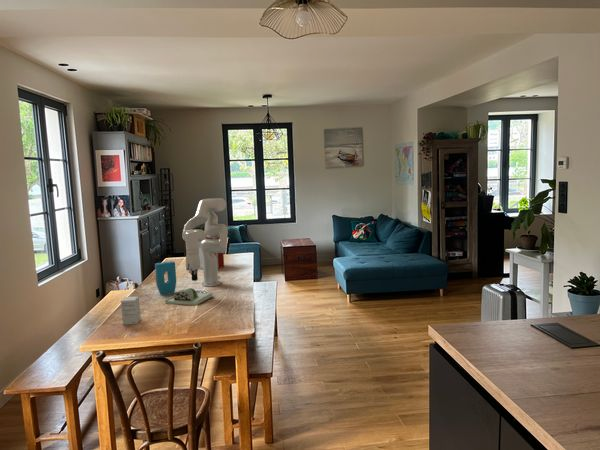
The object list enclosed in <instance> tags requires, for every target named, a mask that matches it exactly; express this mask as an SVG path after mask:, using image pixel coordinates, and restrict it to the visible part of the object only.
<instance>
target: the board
mask: <svg viewBox="0 0 600 450" xmlns="http://www.w3.org/2000/svg"><path fill="white" fill-rule="evenodd" d="M197 294H198V297H197V298H195V299H194V300H193V301H189V300H174V297H175V294H174V295H171V296H170V297H167V298H166V299H165V300H164V303H165V304H170V305H172V304H173V305H186V306H187V305H190V306H198V305H200V304H201V303H203V302H204V301H207V300H208V299H210V298H212V297H213V293H212V292H210V293H202V292H199V293H198V292H197ZM199 295H200V296H199Z"/></svg>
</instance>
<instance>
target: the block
mask: <svg viewBox="0 0 600 450" xmlns="http://www.w3.org/2000/svg"><path fill="white" fill-rule="evenodd" d="M154 268H155V270H154V271H155V283H156V288H157V290H158V292H159V294H160V296H165V295H171V294H175V293H176V292H175V291H176V286H177V270H176V261H164V262H157V263H154ZM166 273H167V280H165V274H166ZM165 281H166V282H165Z"/></svg>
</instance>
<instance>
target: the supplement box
mask: <svg viewBox="0 0 600 450" xmlns="http://www.w3.org/2000/svg"><path fill="white" fill-rule="evenodd" d="M120 307H121V309H120V310H121V318H122V325H136V324H138V323H139V322H140V321H141V308H140V297H139V296H138V295H137V296H125V297H124V298H123V299H121V300H120Z"/></svg>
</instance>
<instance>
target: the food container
mask: <svg viewBox="0 0 600 450" xmlns="http://www.w3.org/2000/svg"><path fill="white" fill-rule="evenodd" d="M197 293H198V292H197V291H196V290H195V288H187V289H180V290H178V291H177V292H175V293H174V295H175V297H174V300H189V301H193V300H194V299H195V298H197V297H198V294H197Z"/></svg>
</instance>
